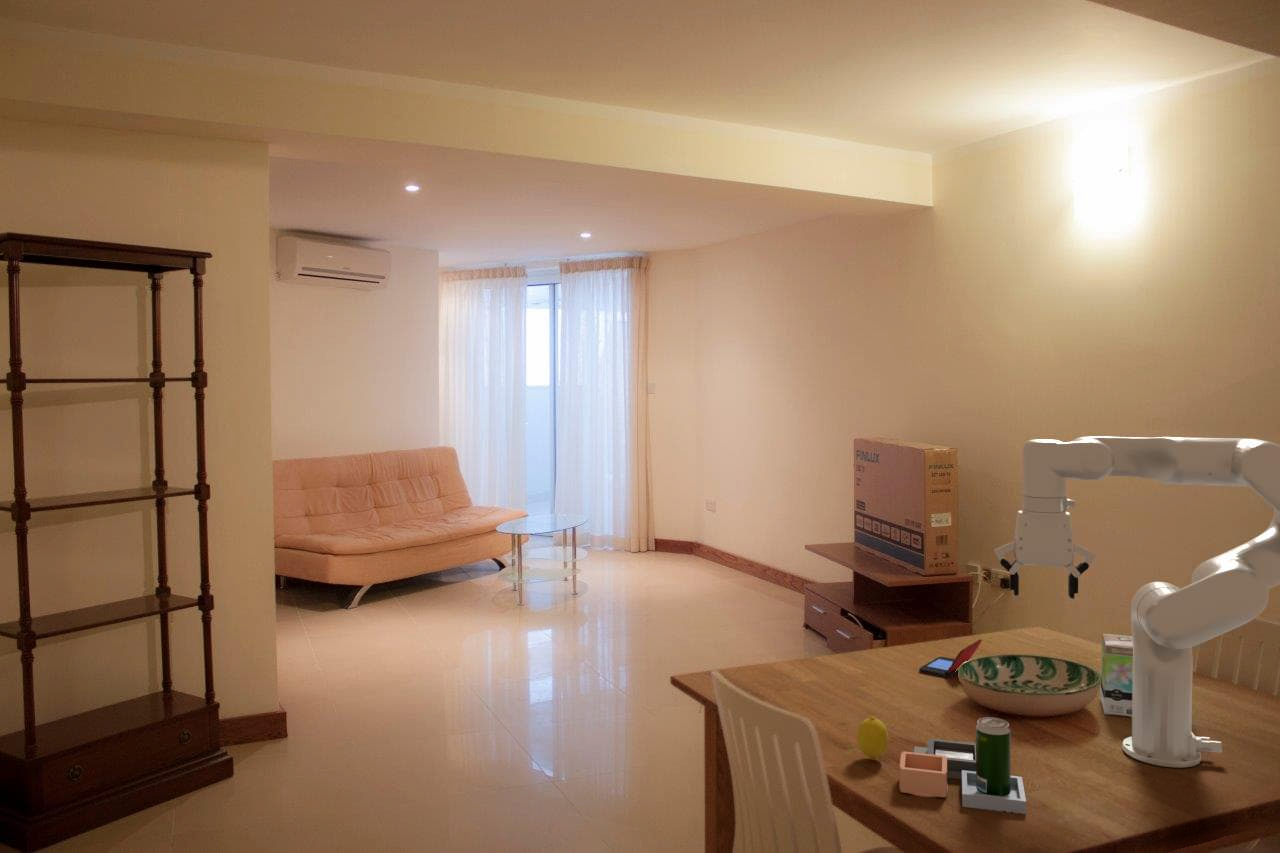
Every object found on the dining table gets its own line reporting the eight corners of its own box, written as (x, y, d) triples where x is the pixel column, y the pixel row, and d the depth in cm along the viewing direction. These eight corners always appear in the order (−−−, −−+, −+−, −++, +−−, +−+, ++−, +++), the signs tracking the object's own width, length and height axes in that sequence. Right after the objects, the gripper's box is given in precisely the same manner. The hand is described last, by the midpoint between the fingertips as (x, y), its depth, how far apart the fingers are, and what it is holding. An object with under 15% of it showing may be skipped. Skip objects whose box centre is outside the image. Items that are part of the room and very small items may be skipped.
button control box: (994, 760, 170) (994, 744, 169) (997, 783, 160) (997, 766, 160) (914, 751, 174) (914, 735, 174) (912, 773, 164) (912, 756, 164)
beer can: (997, 804, 151) (996, 731, 150) (969, 792, 155) (968, 721, 155) (1017, 795, 154) (1017, 724, 153) (989, 784, 158) (989, 714, 158)
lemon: (871, 768, 167) (871, 724, 167) (851, 757, 172) (850, 714, 171) (895, 761, 170) (894, 718, 169) (874, 751, 174) (874, 709, 174)
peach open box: (948, 780, 162) (948, 755, 161) (948, 800, 154) (948, 774, 154) (900, 774, 164) (900, 750, 164) (898, 794, 157) (897, 768, 156)
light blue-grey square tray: (1021, 788, 158) (1021, 776, 158) (1026, 814, 149) (1026, 801, 148) (961, 782, 161) (961, 770, 161) (962, 806, 152) (962, 793, 152)
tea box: (1103, 716, 190) (1104, 644, 190) (1099, 700, 200) (1100, 632, 199) (1188, 725, 185) (1189, 651, 184) (1180, 708, 194) (1181, 638, 193)
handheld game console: (939, 660, 230) (939, 630, 229) (983, 669, 222) (983, 638, 222) (917, 673, 220) (917, 642, 220) (961, 682, 213) (961, 650, 213)
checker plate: (972, 756, 169) (972, 751, 169) (973, 770, 163) (973, 765, 163) (935, 752, 171) (935, 747, 171) (935, 766, 165) (935, 761, 165)
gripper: (1091, 503, 176) (1091, 593, 176) (993, 501, 181) (993, 588, 182) (1097, 509, 168) (1097, 603, 169) (995, 506, 174) (995, 597, 175)
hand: (1043, 595), depth 176 cm, fingers open, 9 cm apart
